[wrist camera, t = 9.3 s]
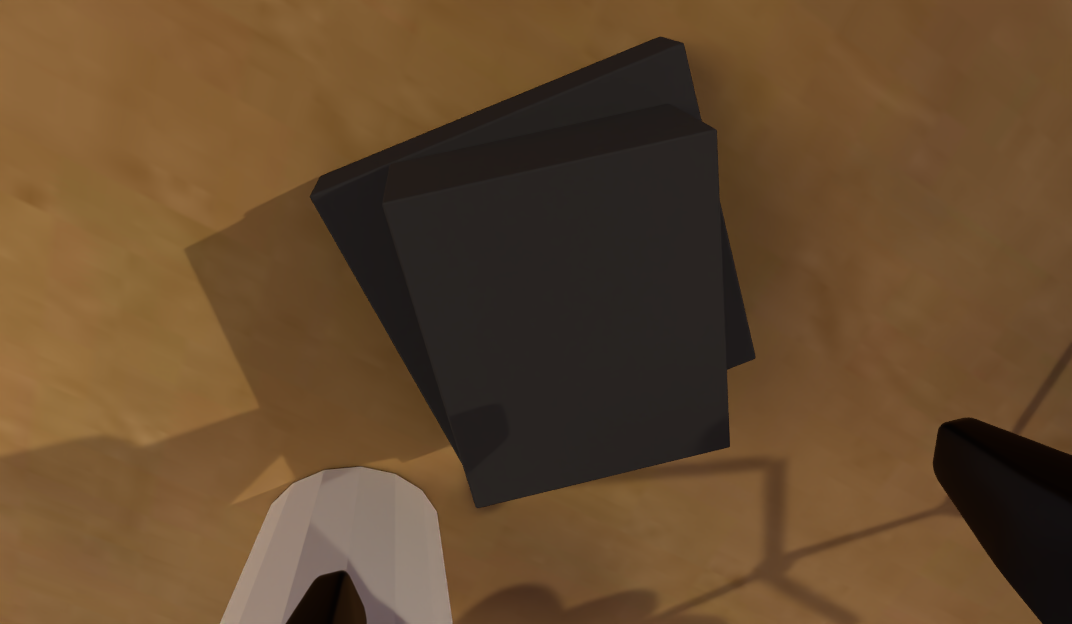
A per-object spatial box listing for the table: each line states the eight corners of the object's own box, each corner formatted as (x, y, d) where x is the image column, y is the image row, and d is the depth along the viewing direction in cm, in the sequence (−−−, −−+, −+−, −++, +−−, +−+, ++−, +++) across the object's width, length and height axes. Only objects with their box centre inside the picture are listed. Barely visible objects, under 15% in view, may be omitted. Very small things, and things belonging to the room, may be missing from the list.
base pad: (733, 331, 20) (756, 358, 19) (463, 437, 20) (466, 471, 19) (661, 35, 16) (684, 42, 14) (318, 176, 16) (308, 196, 15)
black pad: (690, 384, 19) (730, 447, 16) (469, 437, 18) (476, 509, 16) (669, 102, 15) (718, 128, 12) (389, 163, 14) (380, 203, 12)
